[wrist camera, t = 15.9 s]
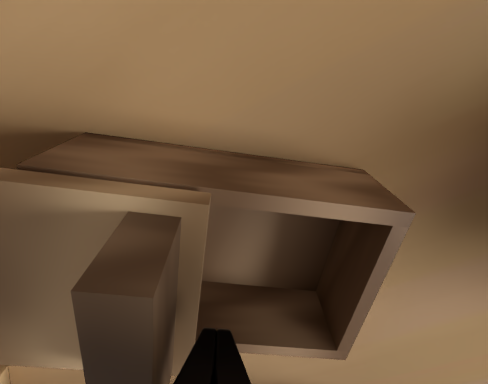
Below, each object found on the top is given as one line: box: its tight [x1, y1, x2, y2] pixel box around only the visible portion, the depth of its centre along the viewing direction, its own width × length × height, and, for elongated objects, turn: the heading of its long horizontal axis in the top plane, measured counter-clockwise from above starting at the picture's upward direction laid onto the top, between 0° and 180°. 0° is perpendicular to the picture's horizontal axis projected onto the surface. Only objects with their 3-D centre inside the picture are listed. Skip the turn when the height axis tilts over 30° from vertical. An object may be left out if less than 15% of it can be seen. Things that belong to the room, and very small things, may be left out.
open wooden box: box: [17, 133, 416, 360], centre depth 12 cm, size 13×8×4 cm, turn 82°
